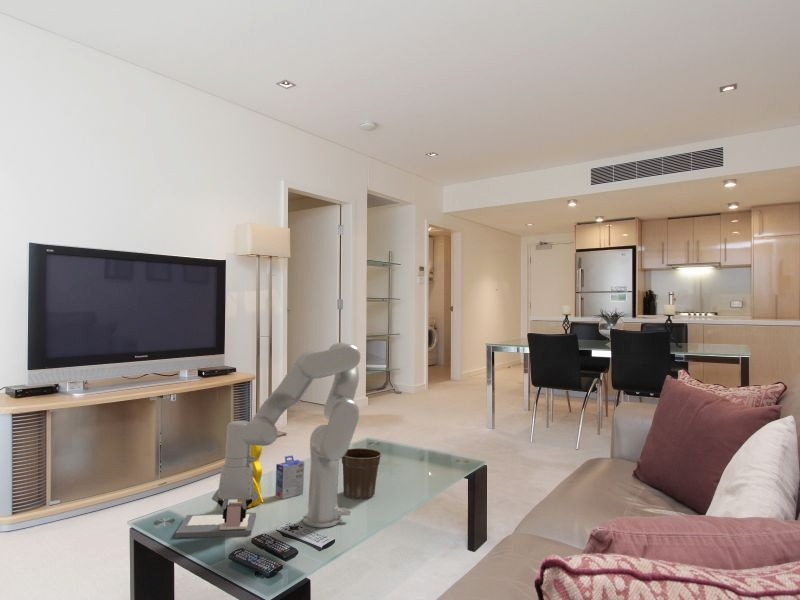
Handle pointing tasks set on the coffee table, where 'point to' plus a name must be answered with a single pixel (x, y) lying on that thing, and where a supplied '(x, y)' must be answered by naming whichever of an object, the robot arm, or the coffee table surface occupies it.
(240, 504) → the stub
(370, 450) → the plant pot
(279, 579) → the coffee table surface
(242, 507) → the robot arm
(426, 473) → the coffee table surface
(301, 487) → the ink cartridge box
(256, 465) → the figure statuette
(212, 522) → the board
